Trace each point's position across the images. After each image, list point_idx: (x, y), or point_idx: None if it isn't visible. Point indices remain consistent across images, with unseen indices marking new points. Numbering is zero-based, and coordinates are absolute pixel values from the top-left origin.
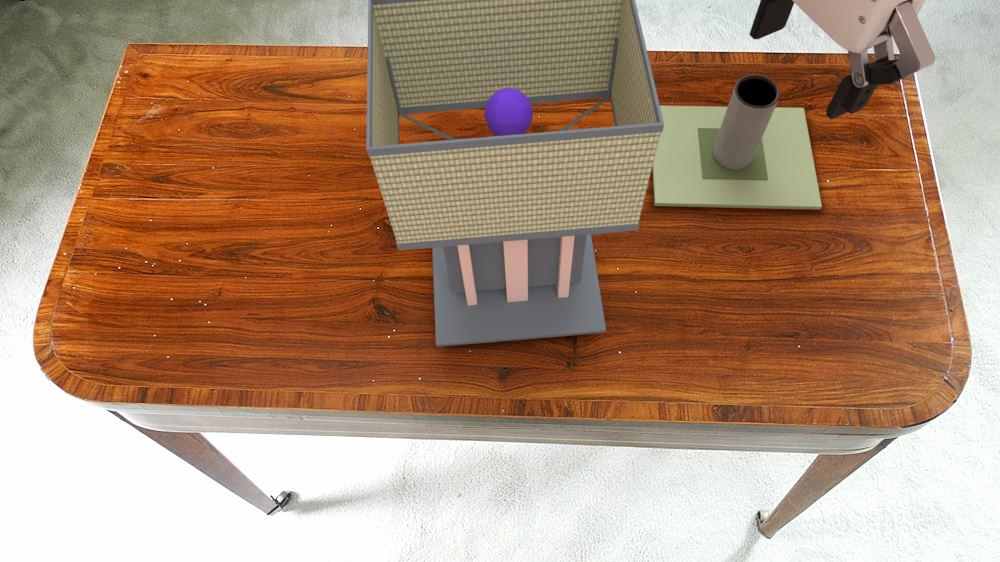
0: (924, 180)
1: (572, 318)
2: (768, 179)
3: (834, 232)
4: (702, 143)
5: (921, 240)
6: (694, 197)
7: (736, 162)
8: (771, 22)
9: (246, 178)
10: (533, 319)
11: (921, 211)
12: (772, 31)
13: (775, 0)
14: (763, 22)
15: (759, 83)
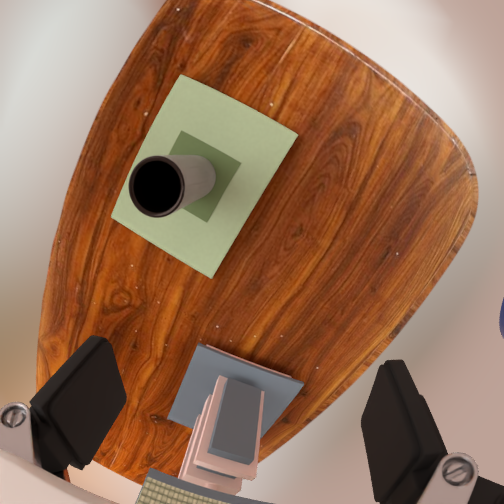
0: (318, 28)
1: (281, 396)
2: (240, 161)
3: (327, 141)
4: None
5: (373, 79)
6: (223, 243)
7: (209, 189)
8: (104, 400)
9: (108, 438)
10: (267, 412)
11: (347, 55)
12: (115, 370)
13: (79, 456)
14: (108, 426)
15: (144, 167)
